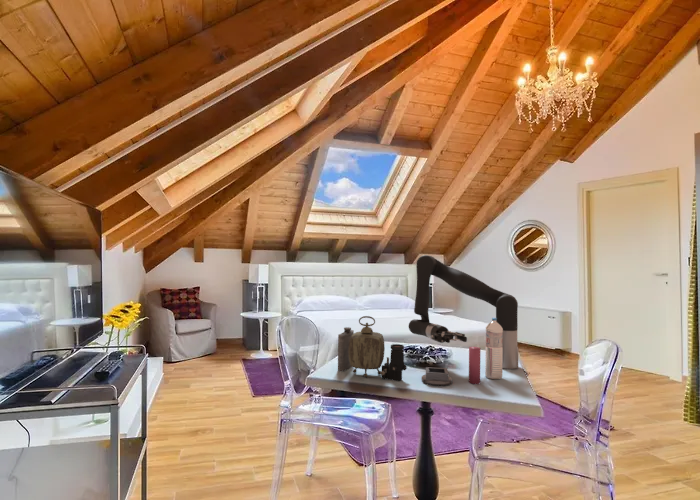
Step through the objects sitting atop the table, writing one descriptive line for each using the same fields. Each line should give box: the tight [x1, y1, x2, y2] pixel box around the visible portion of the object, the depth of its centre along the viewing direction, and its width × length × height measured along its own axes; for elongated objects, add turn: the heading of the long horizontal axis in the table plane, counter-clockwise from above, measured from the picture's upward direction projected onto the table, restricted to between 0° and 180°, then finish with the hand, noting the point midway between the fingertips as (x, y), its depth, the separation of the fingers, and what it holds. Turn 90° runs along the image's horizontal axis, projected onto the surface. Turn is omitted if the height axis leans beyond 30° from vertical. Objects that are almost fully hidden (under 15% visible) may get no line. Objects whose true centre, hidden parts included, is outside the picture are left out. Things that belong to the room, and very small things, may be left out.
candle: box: [468, 346, 481, 385], centre depth 168 cm, size 4×4×14 cm
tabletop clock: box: [348, 315, 385, 378], centre depth 176 cm, size 14×9×25 cm, turn 80°
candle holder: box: [421, 366, 453, 387], centre depth 169 cm, size 12×12×4 cm
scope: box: [380, 343, 407, 382], centre depth 172 cm, size 8×14×10 cm
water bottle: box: [484, 317, 504, 380], centre depth 176 cm, size 7×7×25 cm
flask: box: [337, 326, 355, 373], centre depth 188 cm, size 4×14×18 cm, turn 160°
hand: (457, 339), depth 179 cm, fingers open, 8 cm apart
